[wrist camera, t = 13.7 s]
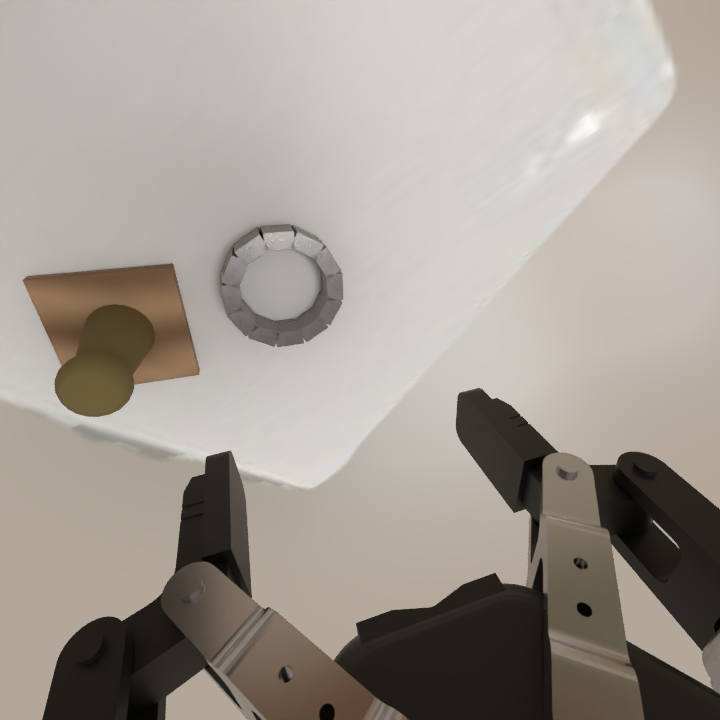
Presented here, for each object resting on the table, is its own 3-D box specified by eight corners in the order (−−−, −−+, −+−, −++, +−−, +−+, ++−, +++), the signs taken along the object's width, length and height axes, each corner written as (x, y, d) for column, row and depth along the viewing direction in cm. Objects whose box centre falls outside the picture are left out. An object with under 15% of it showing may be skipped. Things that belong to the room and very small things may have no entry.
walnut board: (27, 276, 35) (22, 280, 35) (172, 263, 38) (171, 267, 37) (77, 388, 41) (74, 393, 41) (199, 369, 44) (199, 374, 44)
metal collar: (211, 229, 38) (211, 237, 35) (333, 221, 41) (340, 227, 38) (232, 340, 44) (233, 353, 41) (337, 326, 47) (344, 337, 44)
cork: (77, 304, 37) (29, 364, 28) (150, 303, 38) (128, 360, 29) (91, 361, 40) (53, 432, 31) (158, 358, 41) (141, 424, 32)
